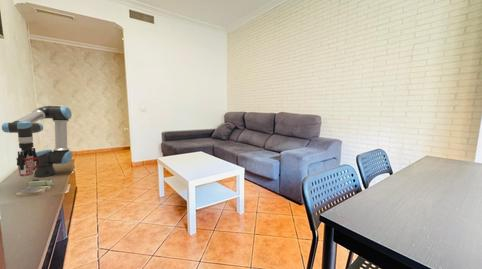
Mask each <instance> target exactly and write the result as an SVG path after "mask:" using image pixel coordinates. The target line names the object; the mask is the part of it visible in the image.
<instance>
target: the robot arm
mask: <svg viewBox="0 0 482 269" xmlns="http://www.w3.org/2000/svg"><path fill="white" fill-rule="evenodd" d="M72 116H73V115H72V110H71V109H70V108H69V107H68V106H62V105H61V106H60V105H57V106H56V105H46V106H41V107H38V108H35V109H34V110H33V111H31V113H28V114H26V115H25V116H22V117H20V118H18V119H16V120H14V121H12V122H3V124H2V125H1V130H2V132H3V133H8V134H9V133H10V134H11V133H13V134H15V133H17V138H18V148H19V149H21V150H20V151H19V150H18V151H17V158H18V159H16V166H17V167H18V166H20V171H21V174H26V168H25V165H24V164H25V158H26V157H27V156H33V158H39V160H40V163H39V165H38V166H37V168H36V169H35V170H34V172H33V176H34V178H45V177H46V178H47V177H51V176H54V175H56V174H57V171H56V168H55V167H54V165H55V164H57V165H58V164H60V165H61V164H62V165H64V164H69V163H71V162H72V161H71V160H72V158H73V152H72V150H70V148H68V126H67V125H68V122H69V121H70V119H72ZM44 119H52V122H54V135H55V136H54V137H55V138H54V141H55V142H54V143H55V145H54V147H55V148H54V149H44V150H39V151H37V152H36V148H35V147H34V145H35V144H34V137H33V134H35V133H40V132H42V131H43V130H44V126H43V124H42V123H41V122H38V121H42V120H44ZM23 159H24V160H23ZM37 163H38V160H37V159H35V160H34V162H33V168H34V167H35V166H36V165H37Z"/></svg>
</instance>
